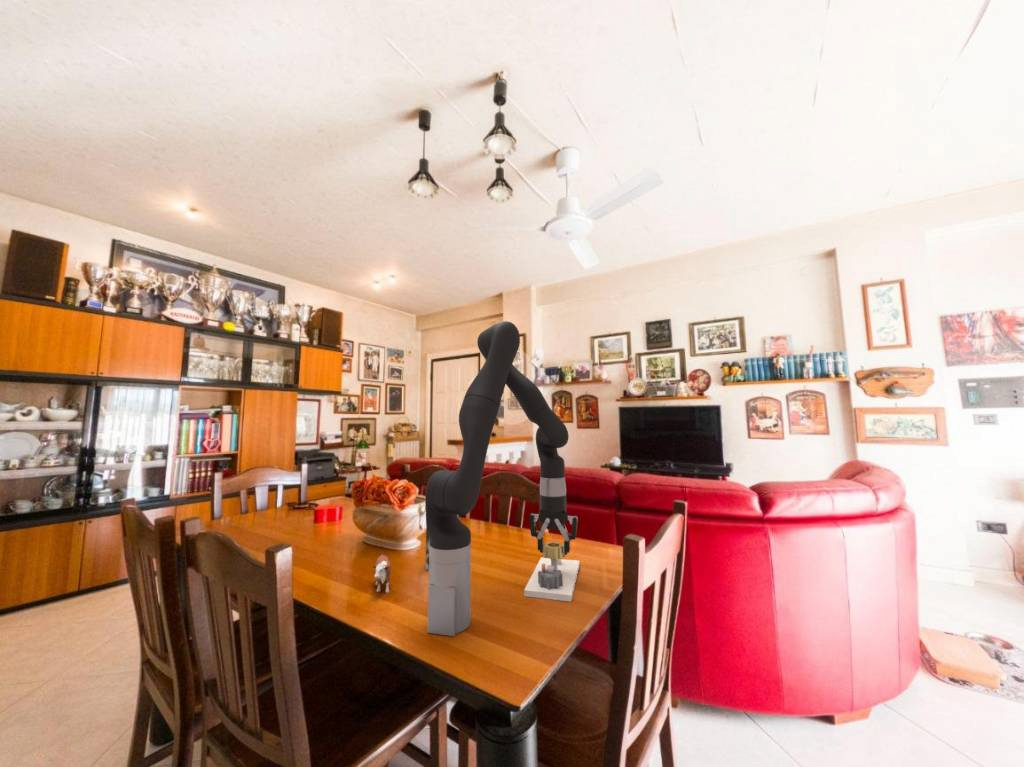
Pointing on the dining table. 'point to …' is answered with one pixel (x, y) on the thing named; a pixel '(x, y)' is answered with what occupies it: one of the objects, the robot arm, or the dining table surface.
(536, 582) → the gear board
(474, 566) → the dining table surface
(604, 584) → the dining table surface
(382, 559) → the bull figurine
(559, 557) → the brass gear
